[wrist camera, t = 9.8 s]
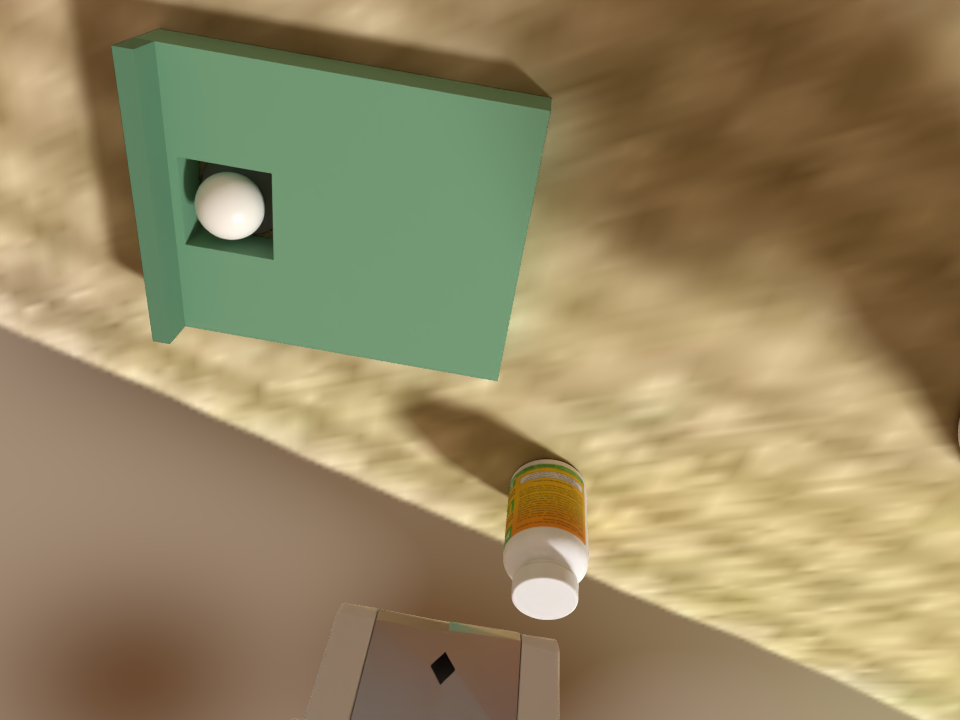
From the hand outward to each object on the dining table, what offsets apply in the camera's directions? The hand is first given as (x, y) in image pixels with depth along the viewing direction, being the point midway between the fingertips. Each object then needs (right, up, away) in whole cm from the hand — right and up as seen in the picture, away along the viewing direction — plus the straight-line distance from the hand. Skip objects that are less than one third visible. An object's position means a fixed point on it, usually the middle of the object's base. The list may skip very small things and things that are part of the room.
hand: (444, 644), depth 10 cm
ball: (-13, +12, +29) cm, 34 cm away
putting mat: (-7, +12, +30) cm, 33 cm away
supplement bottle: (+5, -5, +41) cm, 41 cm away
